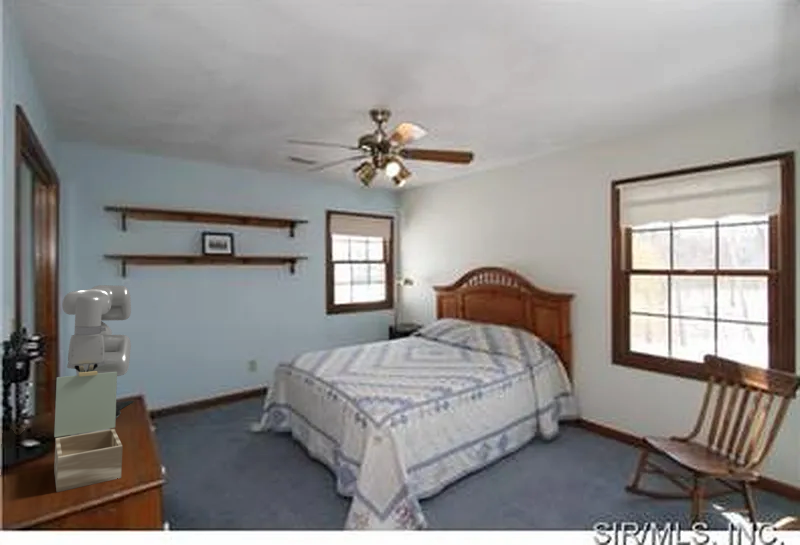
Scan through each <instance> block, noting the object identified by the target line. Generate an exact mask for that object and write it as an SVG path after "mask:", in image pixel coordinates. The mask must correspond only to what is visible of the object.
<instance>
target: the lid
mask: <svg viewBox="0 0 800 545" xmlns="http://www.w3.org/2000/svg"><path fill="white" fill-rule="evenodd" d="M117 382H118V376H117V372H109V373H98V372H97V371H90V372H79V375H77V374H76V375H67V376H58V377H56V382H55V384H56V388H55V389H56V390H55V406H54V407H55V410H54V411H55V414H54V430H53V431H54V432H53V433H54V434H53V436H54V438H60V437H66V436H70V435H72V434H78V433H84V432H90V431H97V430H103V429H109V428H110V429H115V428H116V421H117V420H116V419H117V418H116V402H117V386H118V385H117Z"/></svg>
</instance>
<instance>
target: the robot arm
mask: <svg viewBox="0 0 800 545" xmlns="http://www.w3.org/2000/svg"><path fill="white" fill-rule="evenodd" d="M131 302H132V299H131V293H130V290H129V288H127V287H126V286H125V285H105V284H104V285H103V284H102V285H100V284H99V285H95V286H93V287H91V288H88V289H82V290H80V289H79V290H74V291H70V292H68V293H66V295H65V296H64V297H63V300H62V305H61V306H62V310H63V312H64V313H65V314H67V315H71V316H73V315H74V332H73V335H71V336H70V340H69V344H68V345H69V346H68V354H67V365H66V368H68V369H73V370H75V373H76V375H79V372H90V371H97V372H98V373H109V372H117V377H120V376H124V375H126V373H127V372H128V371H129V367H130V361H131V360H130V359H131V351H132V348H131V347H132V343H131V339H130V337H129V336H128V335H126V334H113V332H112V329H111V327H109V325H108V324H106V323H105V322H104V321H108V322H109V321H126V320H128V319H129V318H130V316H131V313H132V305H131ZM110 429H111V428H109V429H103V430H97V431H90V432H84V433H78V434H72V435H69V436H73V435H79V434H85V433H91V432H98V431H104V430H110Z"/></svg>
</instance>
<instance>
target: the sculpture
mask: <svg viewBox="0 0 800 545" xmlns="http://www.w3.org/2000/svg"><path fill="white" fill-rule="evenodd" d="M133 403H134V400H128V401H116V419H117V418H119V416H120V415H121V414H122V412H121V410H122V409H123V408H125V407H127V406H129V405H131V404H133Z"/></svg>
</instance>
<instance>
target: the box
mask: <svg viewBox="0 0 800 545" xmlns="http://www.w3.org/2000/svg"><path fill="white" fill-rule="evenodd" d="M54 441H55V447H54V461H53V462H54V465H53V468H54V469H53V470H54V480H55V481H54V482H55V488H56V489H55V490H56V493H59V492H65V491H69V490H73V489H78V488H81V487H86V486H91V485H96V484H99V483H100V484H101V483H105V482H108V481H113V480H117V478H118V479H122V464H123V449H124V448H123V444H122V442H121V440H120V437H119V436H118V434H117V432H116V429H115V428H110V430H104V431H98V432H91V433H85V434H79V435H73V436H70V435H66V436H60V437H55V440H54Z"/></svg>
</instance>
